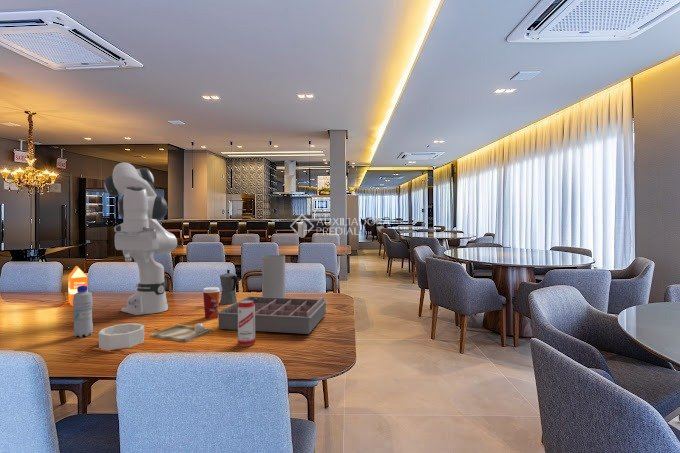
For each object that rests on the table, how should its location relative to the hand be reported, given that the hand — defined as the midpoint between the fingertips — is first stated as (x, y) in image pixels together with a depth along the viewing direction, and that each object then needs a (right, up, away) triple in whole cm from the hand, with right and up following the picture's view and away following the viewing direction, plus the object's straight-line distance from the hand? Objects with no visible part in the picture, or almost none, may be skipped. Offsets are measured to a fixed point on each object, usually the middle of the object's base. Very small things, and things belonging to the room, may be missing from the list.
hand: (136, 262), depth 149 cm
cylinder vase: (+44, -28, +60) cm, 79 cm away
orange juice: (-62, -28, +55) cm, 87 cm away
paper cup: (+21, -29, +25) cm, 43 cm away
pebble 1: (-1, -27, -11) cm, 29 cm away
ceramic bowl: (0, -29, -10) cm, 31 cm away
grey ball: (+1, -28, -11) cm, 30 cm away
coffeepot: (+21, -28, +55) cm, 65 cm away
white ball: (+25, -29, +1) cm, 38 cm away
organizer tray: (+52, -29, +16) cm, 62 cm away
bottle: (-21, -29, 0) cm, 36 cm away
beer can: (+46, -30, -10) cm, 56 cm away
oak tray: (+18, -29, 0) cm, 34 cm away
